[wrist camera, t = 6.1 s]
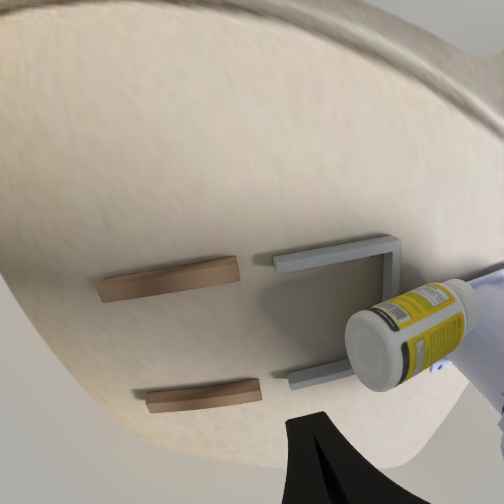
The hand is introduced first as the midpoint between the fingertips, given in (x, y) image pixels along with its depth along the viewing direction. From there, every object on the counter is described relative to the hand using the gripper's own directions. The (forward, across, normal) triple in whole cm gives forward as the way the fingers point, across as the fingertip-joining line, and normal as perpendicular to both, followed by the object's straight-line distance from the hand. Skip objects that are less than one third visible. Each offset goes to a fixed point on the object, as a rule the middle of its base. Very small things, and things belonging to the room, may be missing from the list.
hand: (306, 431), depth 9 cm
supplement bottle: (+5, -4, +2) cm, 7 cm away
